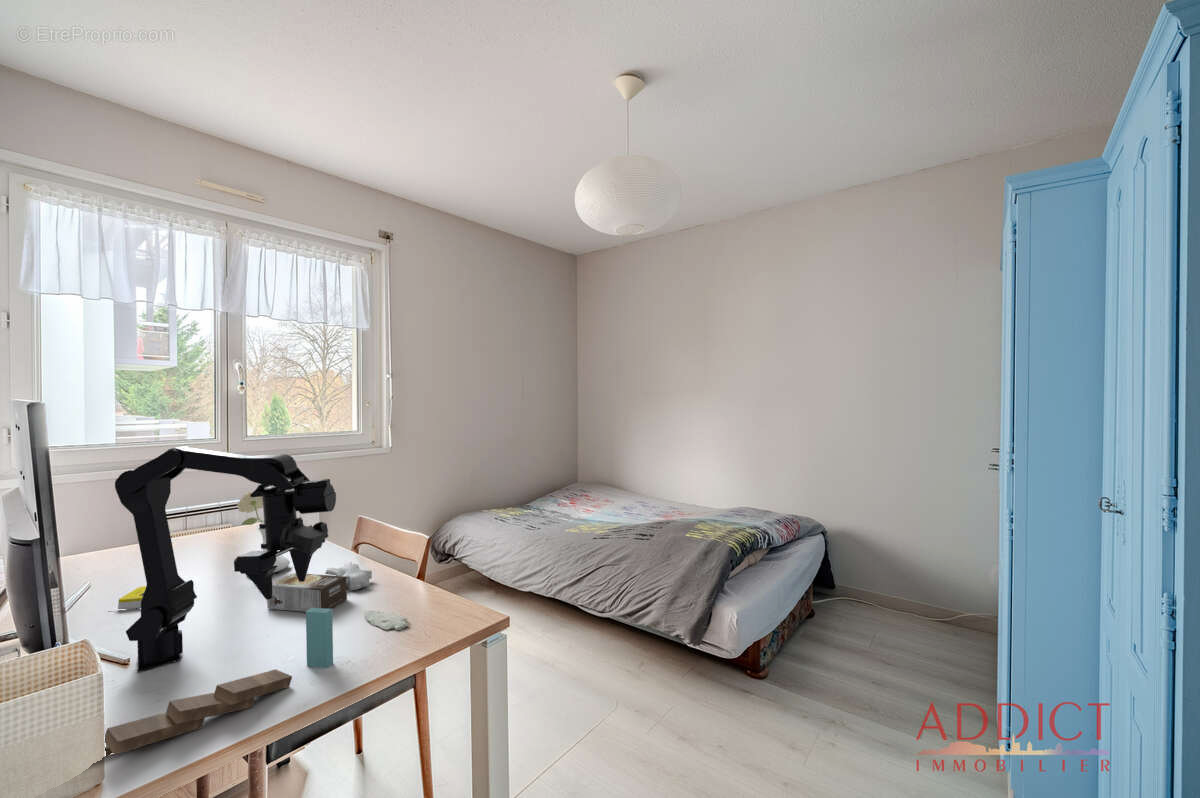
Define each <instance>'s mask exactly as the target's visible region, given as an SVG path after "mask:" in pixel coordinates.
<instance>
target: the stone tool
mask: <svg viewBox="0 0 1200 798" xmlns="http://www.w3.org/2000/svg"><path fill="white" fill-rule="evenodd" d="M363 613H364V614H363V615H364V619H365V620H366V621H367V622H369V623H370V625H372V626H376V627H379V628H381V629H383V630H385V631H388V630H393V629H394V630H395V631H402V630H403V629H405V628H406V627H408V626H409V624H410V622H407V621H408V619H409V618H408V617H406V616H401V615H397V614H394V613H393V614H392V613H387V612H384V611H380V610H373V609H366V610H364V612H363Z"/></svg>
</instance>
